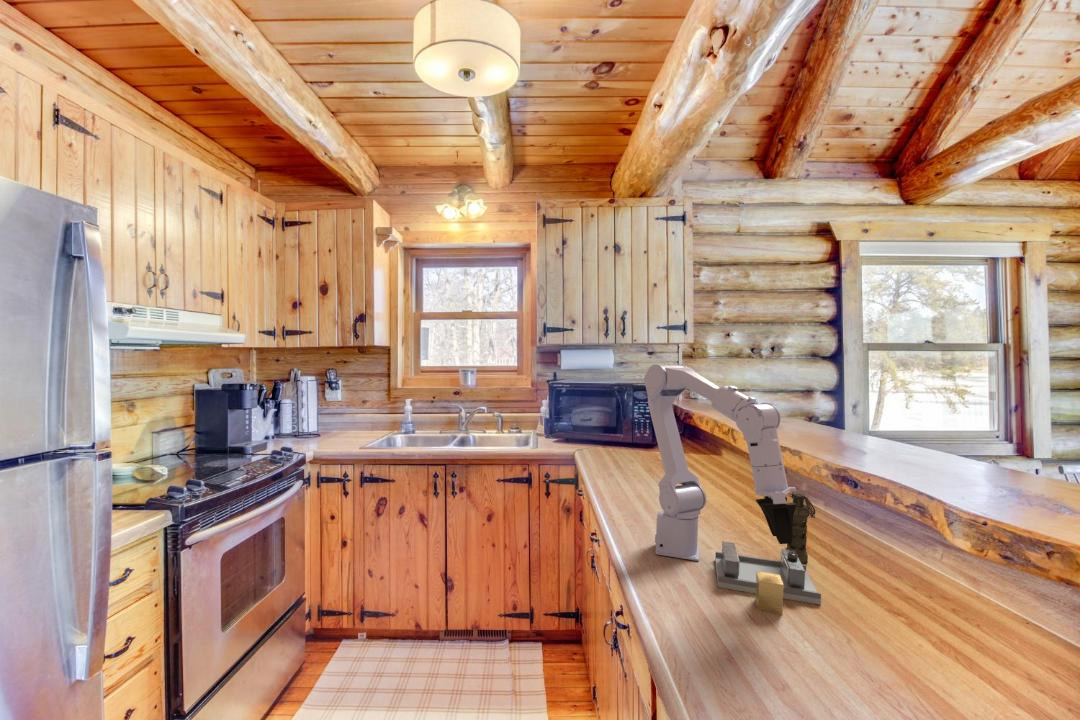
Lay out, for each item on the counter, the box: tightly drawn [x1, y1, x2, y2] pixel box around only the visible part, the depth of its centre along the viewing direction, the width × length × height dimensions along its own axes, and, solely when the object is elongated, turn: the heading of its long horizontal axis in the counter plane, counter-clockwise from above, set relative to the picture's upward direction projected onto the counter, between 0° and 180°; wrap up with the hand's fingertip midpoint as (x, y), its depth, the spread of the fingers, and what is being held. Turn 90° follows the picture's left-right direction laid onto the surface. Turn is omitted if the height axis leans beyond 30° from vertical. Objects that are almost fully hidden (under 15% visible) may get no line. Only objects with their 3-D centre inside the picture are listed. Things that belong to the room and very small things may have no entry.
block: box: [754, 571, 784, 616], centre depth 86 cm, size 4×4×6 cm
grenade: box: [784, 491, 816, 564], centre depth 108 cm, size 9×6×15 cm, turn 154°
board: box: [714, 551, 822, 606], centre depth 97 cm, size 18×13×2 cm
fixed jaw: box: [721, 541, 739, 579], centre depth 99 cm, size 3×10×4 cm, turn 162°
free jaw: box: [779, 548, 805, 590], centre depth 95 cm, size 3×10×5 cm, turn 162°
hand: (782, 539), depth 88 cm, fingers open, 7 cm apart
